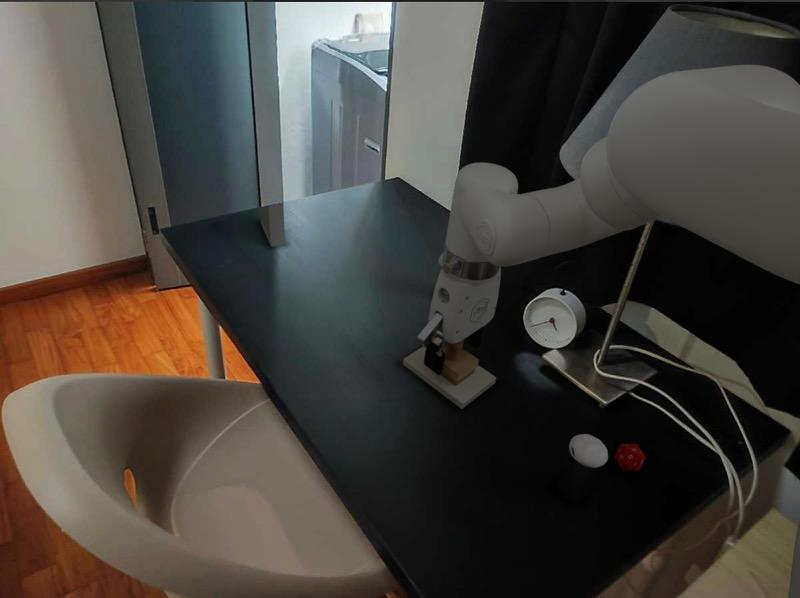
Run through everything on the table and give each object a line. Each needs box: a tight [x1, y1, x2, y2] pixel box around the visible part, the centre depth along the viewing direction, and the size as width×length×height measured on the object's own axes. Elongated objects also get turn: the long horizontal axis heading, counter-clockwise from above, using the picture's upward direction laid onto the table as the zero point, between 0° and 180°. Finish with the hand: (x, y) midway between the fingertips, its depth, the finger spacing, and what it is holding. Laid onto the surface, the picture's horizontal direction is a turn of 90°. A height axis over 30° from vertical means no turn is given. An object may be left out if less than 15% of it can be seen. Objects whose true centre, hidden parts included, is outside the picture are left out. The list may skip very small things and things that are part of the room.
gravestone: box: [259, 201, 286, 248], centre depth 110 cm, size 3×9×18 cm, turn 22°
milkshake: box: [557, 433, 609, 502], centre depth 70 cm, size 4×5×10 cm
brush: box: [437, 339, 480, 386], centre depth 85 cm, size 6×5×8 cm
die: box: [613, 443, 646, 472], centre depth 76 cm, size 4×3×4 cm
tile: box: [402, 336, 497, 410], centre depth 88 cm, size 12×8×1 cm, turn 45°
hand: (452, 355), depth 86 cm, fingers open, 8 cm apart
